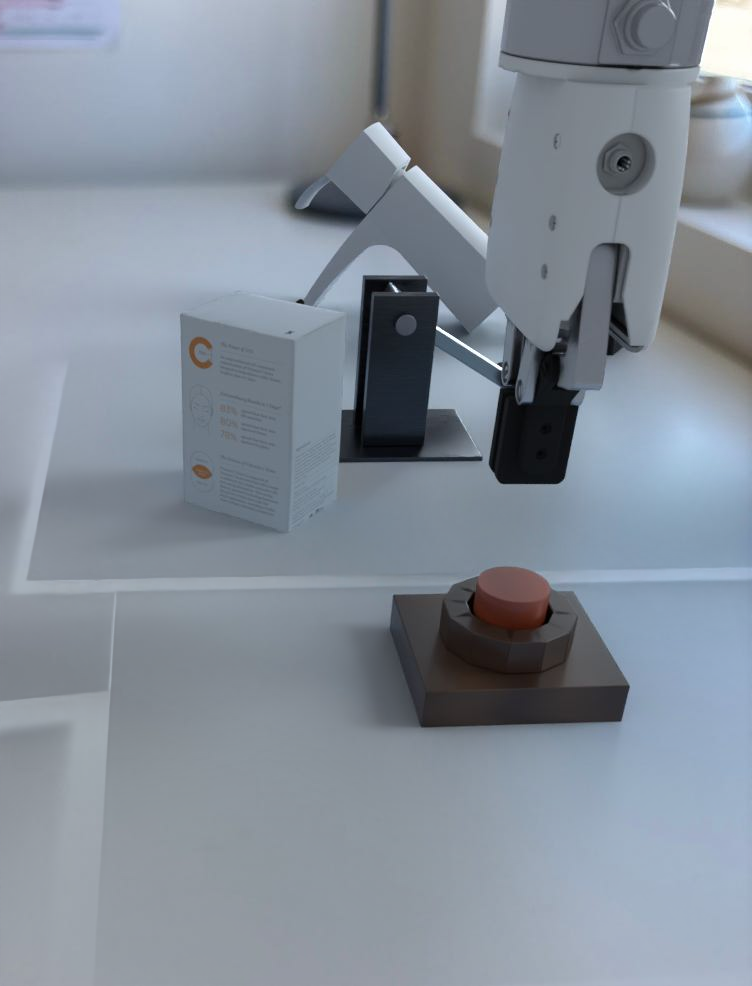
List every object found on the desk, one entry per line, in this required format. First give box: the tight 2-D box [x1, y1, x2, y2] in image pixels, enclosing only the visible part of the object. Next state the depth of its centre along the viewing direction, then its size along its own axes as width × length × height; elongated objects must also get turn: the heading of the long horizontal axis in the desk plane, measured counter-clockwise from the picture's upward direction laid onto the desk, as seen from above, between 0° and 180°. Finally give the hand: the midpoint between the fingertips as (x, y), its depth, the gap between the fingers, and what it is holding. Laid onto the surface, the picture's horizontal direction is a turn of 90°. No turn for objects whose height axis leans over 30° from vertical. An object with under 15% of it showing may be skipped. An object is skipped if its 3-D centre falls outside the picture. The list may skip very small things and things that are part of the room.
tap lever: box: [370, 282, 513, 389], centre depth 79 cm, size 12×5×2 cm
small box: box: [179, 290, 348, 534], centre depth 70 cm, size 8×6×13 cm
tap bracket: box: [339, 274, 484, 464], centre depth 80 cm, size 12×9×12 cm
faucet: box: [294, 121, 500, 334], centre depth 107 cm, size 6×16×20 cm
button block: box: [389, 575, 631, 728], centre depth 58 cm, size 10×9×4 cm
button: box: [473, 565, 552, 630], centre depth 56 cm, size 4×4×2 cm
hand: (525, 476), depth 53 cm, fingers closed
